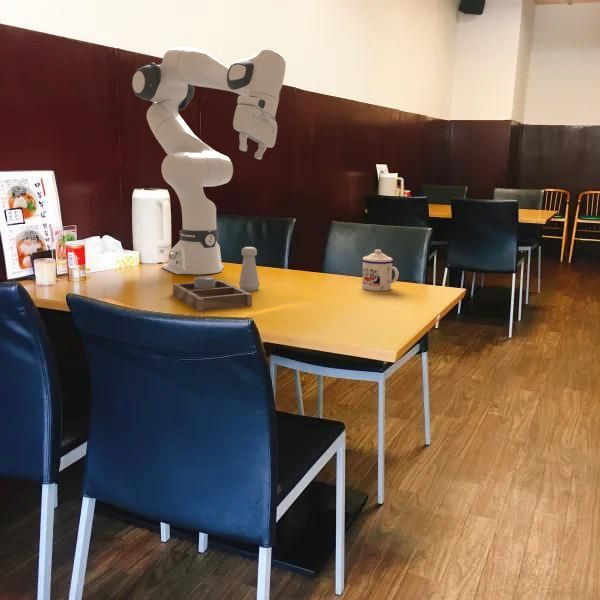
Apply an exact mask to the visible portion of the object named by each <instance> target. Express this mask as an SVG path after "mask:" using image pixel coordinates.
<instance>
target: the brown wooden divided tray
mask: <svg viewBox="0 0 600 600" xmlns="http://www.w3.org/2000/svg"><path fill="white" fill-rule="evenodd" d="M172 296H174V297H176V298H177V299H179V300H180V301H182V302H184V303H185V304H186V305H188V306H189V307H191V308H193V309H194V310H196V311H198V312H207V311H216V310H217V311H218V310H219V311H220V310H226V309H235V308H236V309H237V308H245V307H252V306H253V294H252V293H250V292H249V291H244V290H242V289H240V287H238V286H236V285H234V284H231V283H229V282H226V281H225V280H222V279H217V280H215V288H209V289H198V290H194V282H186V283H185V282H184V283H173V284H172Z"/></svg>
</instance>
